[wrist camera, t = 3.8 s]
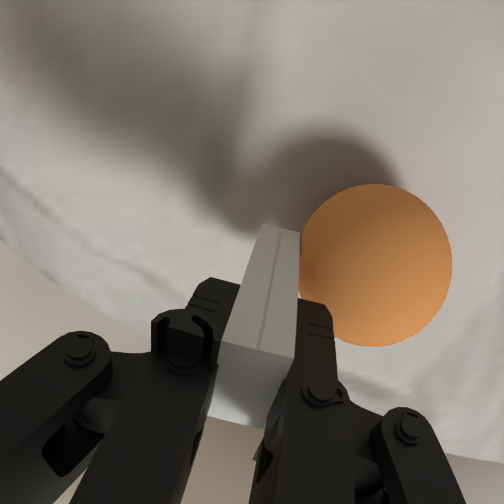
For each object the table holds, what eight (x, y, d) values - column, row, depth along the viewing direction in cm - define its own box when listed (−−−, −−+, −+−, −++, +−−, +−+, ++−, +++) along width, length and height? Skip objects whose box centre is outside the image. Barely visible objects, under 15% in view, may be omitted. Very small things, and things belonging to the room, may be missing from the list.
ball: (310, 154, 13) (324, 193, 7) (435, 187, 12) (507, 243, 7) (282, 277, 15) (275, 369, 10) (395, 297, 15) (428, 385, 10)
